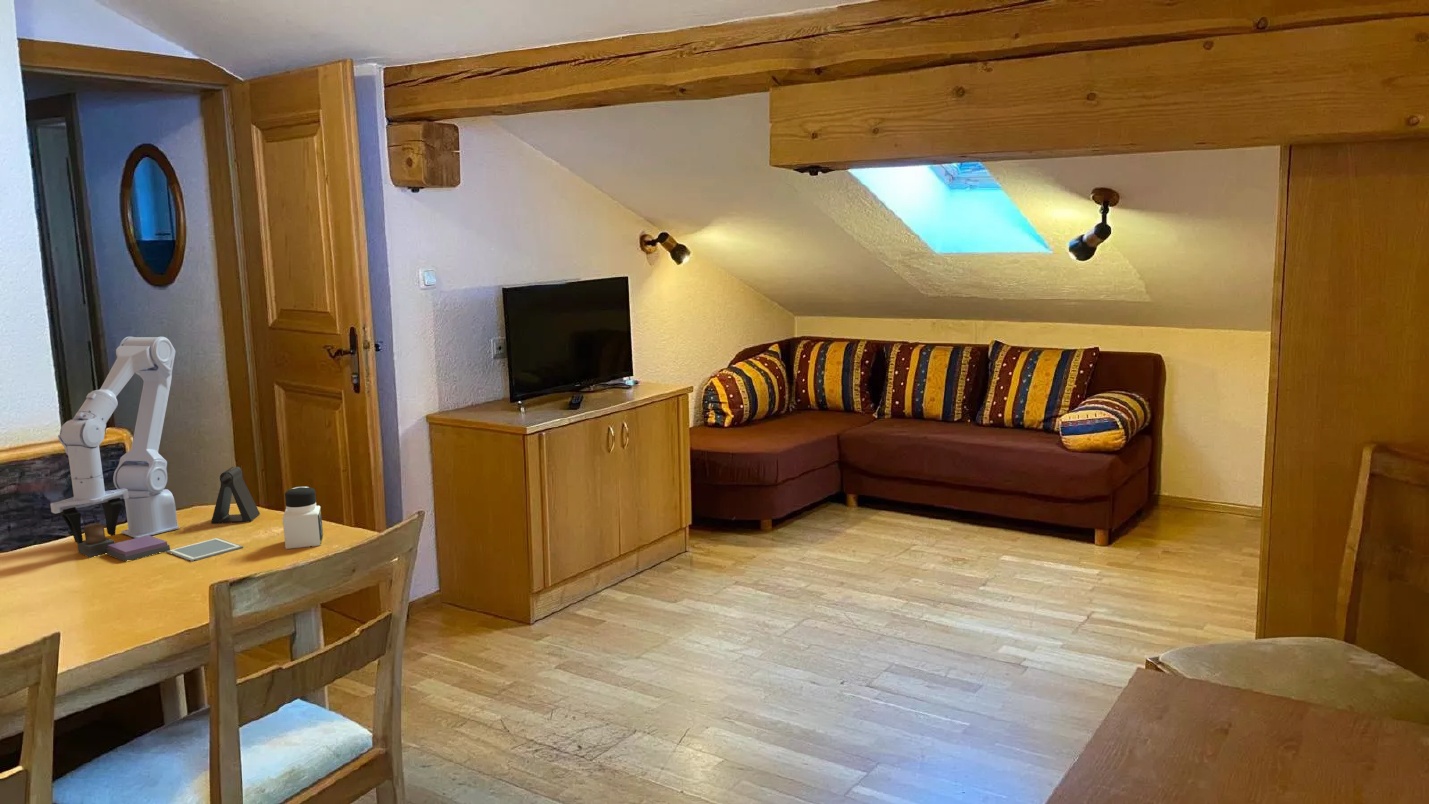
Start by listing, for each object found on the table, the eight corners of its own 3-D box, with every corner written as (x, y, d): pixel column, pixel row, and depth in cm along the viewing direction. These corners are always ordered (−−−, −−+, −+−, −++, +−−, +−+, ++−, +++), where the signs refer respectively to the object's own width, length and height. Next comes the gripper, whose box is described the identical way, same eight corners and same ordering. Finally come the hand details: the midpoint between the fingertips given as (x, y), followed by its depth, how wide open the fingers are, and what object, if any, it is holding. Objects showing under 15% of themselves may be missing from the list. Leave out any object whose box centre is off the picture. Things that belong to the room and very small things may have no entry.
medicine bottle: (321, 546, 228) (316, 491, 226) (285, 549, 226) (280, 494, 224) (323, 536, 235) (318, 483, 233) (288, 540, 233) (283, 486, 231)
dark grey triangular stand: (260, 514, 253) (255, 465, 251) (251, 522, 247) (245, 471, 245) (221, 516, 253) (215, 467, 251) (211, 523, 247) (205, 473, 245)
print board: (217, 539, 235) (217, 537, 235) (243, 547, 228) (243, 546, 228) (166, 552, 226) (166, 550, 226) (191, 561, 219) (191, 559, 219)
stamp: (103, 547, 232) (100, 520, 230) (115, 552, 228) (112, 524, 227) (78, 553, 228) (75, 526, 227) (90, 558, 224) (86, 530, 223)
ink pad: (150, 543, 233) (149, 534, 233) (170, 550, 227) (169, 541, 227) (106, 554, 226) (105, 545, 226) (125, 562, 220) (124, 552, 220)
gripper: (57, 486, 217) (65, 550, 219) (131, 471, 228) (139, 532, 230) (43, 481, 221) (52, 544, 223) (117, 467, 232) (124, 527, 235)
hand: (95, 538), depth 227 cm, fingers open, 6 cm apart
